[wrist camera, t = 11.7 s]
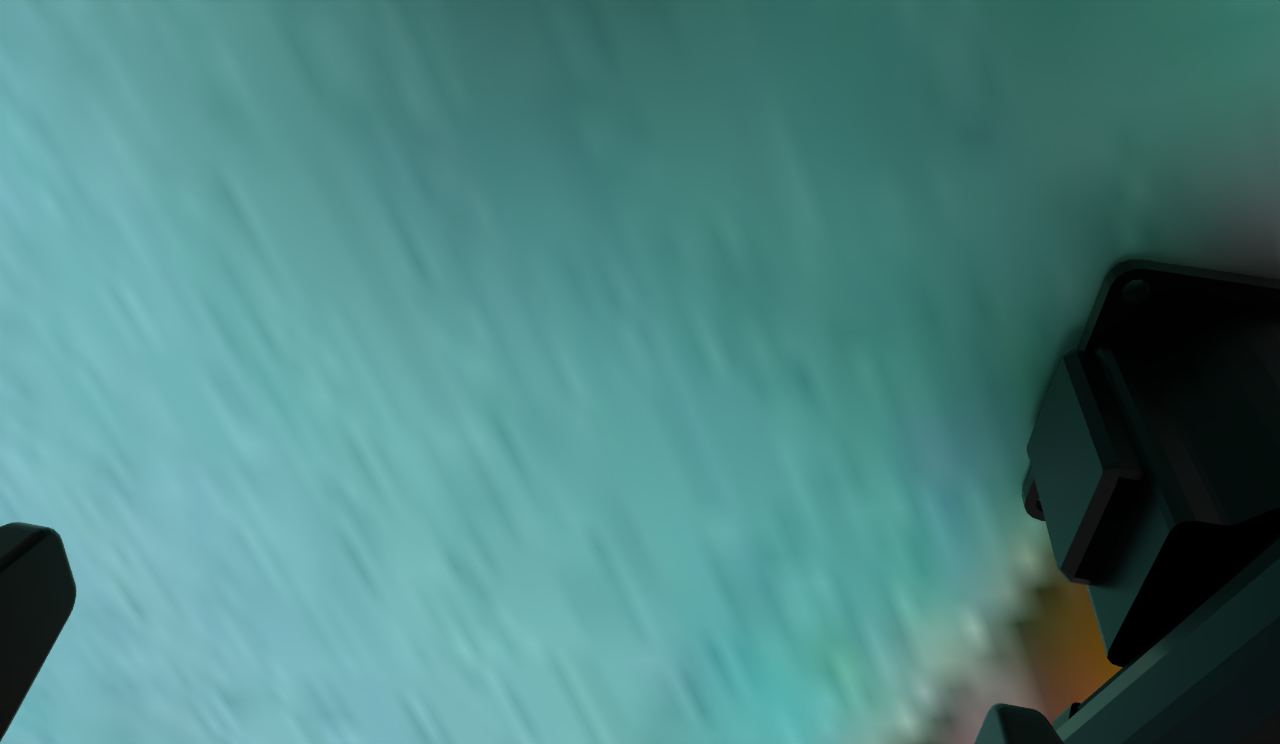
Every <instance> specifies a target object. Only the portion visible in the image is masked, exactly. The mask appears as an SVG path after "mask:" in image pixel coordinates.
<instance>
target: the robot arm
mask: <svg viewBox="0 0 1280 744" xmlns="http://www.w3.org/2000/svg"><path fill="white" fill-rule="evenodd" d="M1133 280H1143V281H1145V283H1144V285H1143V286H1142V288H1141V289H1140V290H1138V291H1136V292H1134V293H1125V292H1122V289H1123V288H1124V287H1125V285H1126V284H1127V283H1129V282H1131V281H1133ZM1027 453H1028V457H1029V460H1030V464H1031V469H1030V471H1029V474H1028V476H1027V479H1026V481H1025V484H1024V486H1023V489H1022V499H1023V503H1024V507H1025V509H1026V511H1027V513H1028V514H1029V515H1030V516H1031V517H1033V518H1035V519H1038V520H1041V521H1046V525H1047V529H1048V532H1049V536H1050V540H1051V544H1052V547H1053V551H1054V555H1055V559H1056V563H1057V566H1058V569H1059V570H1060V572H1061V573H1062V575H1063V576H1064V577H1065V579H1066V580H1067V582H1072V583H1078V584H1084V585H1086V587H1087V590H1088V594H1089V597H1090V601H1091V604H1092V607H1093V611H1094V614H1095V618H1096V621H1097V625H1098V628H1099V631H1100V635H1101V638H1102V642H1103V645H1104V649H1105V652H1106V655H1107V658H1108V660H1109V661H1110V662H1111V663H1112V664H1114V665H1117V666H1119V667H1123V668H1122V669H1121V670H1120V671H1118V672H1117V673H1116V674H1115V675H1114V676H1113V677H1112V678H1110V679H1109V680H1108V681H1107V682H1106V683H1105V684H1103V685H1102V686H1101V687H1100V688H1099V689H1098V690H1097V691H1095V692H1094V693H1093V694H1092V695H1091V696H1090V697H1088V698H1087V699H1086V700H1085V701H1084V702H1083V703H1082V704H1080V703H1077V702H1076V703H1073V704H1071V705H1070V706H1069V707H1068V708H1067V709H1066V710H1065V711H1063V712H1062V713H1061V714H1060V715H1059V716H1058V717H1057V718H1055V720H1054V722H1053V726H1051V724H1050V723H1049V721H1048V720H1047V719H1046V717H1045V716H1044V715H1042V714H1041V713H1040V712H1038V711H1037V710H1034V709H1030V708H1024V707H1019V706H1013V705H1008V704H1003V703H999V704H995V705H993V706H992V707H991V708H990V710H989V711H988V713H987V715H986V718H985V720H984V722H983V725H982V727H981V729H980V731H979V734H978V736H977V738H976V741H975V743H974V744H1280V280H1274V279H1267V278H1261V277H1254V276H1247V275H1241V274H1234V273H1227V272H1221V271H1214V270H1207V269H1200V268H1194V267H1187V266H1180V265H1174V264H1167V263H1160V262H1154V261H1147V260H1127V261H1124V262H1122V263H1119V264H1118V265H1116V266H1115V267H1114V268H1112V269H1111V270H1110V272H1109V273H1108V275H1107V276H1106V278H1105V280H1104V283H1103V285H1102V288H1101V290H1100V293H1099V295H1098V298H1097V301H1096V303H1095V306H1094V308H1093V311H1092V313H1091V316H1090V318H1089V321H1088V323H1087V326H1086V329H1085V331H1084V334H1083V336H1082V339H1081V341H1080V344H1079V346H1078V349H1073V350H1071V351H1070V352H1068V353H1067V354H1066V355H1064V356H1063V357H1061V359H1060V361H1059V364H1058V367H1057V369H1056V372H1055V374H1054V377H1053V380H1052V382H1051V385H1050V387H1049V390H1048V393H1047V395H1046V398H1045V400H1044V403H1043V406H1042V408H1041V411H1040V413H1039V416H1038V419H1037V421H1036V424H1035V426H1034V429H1033V432H1032V434H1031V437H1030V439H1029V442H1028V445H1027ZM1039 498H1040V501H1039V500H1038V499H1039ZM75 599H76V585H75V581H74V578H73V575H72V571H71V568H70V565H69V561H68V558H67V555H66V552H65V548H64V545H63V542H62V539H61V537H60V535H59V534H58V533H57V532H56V531H55V530H54V529H51V528H49V527H43V526H38V525H32V524H27V523H20V522H15V523H9V524H6V525H4V526H1V527H0V741H1V740H2V738H3V736H4V735H5V733H6V731H7V730H8V728H9V726H10V724H11V722H12V720H13V719H14V717H15V715H16V713H17V711H18V709H19V708H20V706H21V704H22V702H23V700H24V698H25V697H26V695H27V693H28V691H29V689H30V687H31V686H32V684H33V682H34V680H35V678H36V676H37V675H38V673H39V671H40V669H41V667H42V665H43V664H44V662H45V660H46V658H47V656H48V654H49V653H50V651H51V649H52V647H53V645H54V643H55V642H56V640H57V638H58V636H59V634H60V632H61V631H62V629H63V627H64V625H65V623H66V621H67V620H68V618H69V616H70V614H71V612H72V610H73V607H74V604H75Z"/></svg>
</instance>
